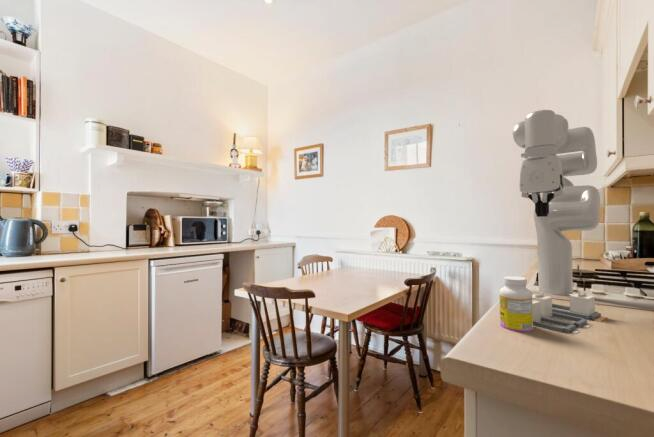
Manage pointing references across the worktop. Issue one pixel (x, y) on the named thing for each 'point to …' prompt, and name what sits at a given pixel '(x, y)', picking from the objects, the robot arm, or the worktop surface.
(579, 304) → the white switch slider block
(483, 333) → the worktop surface
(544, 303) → the white block with ridge
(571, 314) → the switch board
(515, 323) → the supplement bottle
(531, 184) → the robot arm
